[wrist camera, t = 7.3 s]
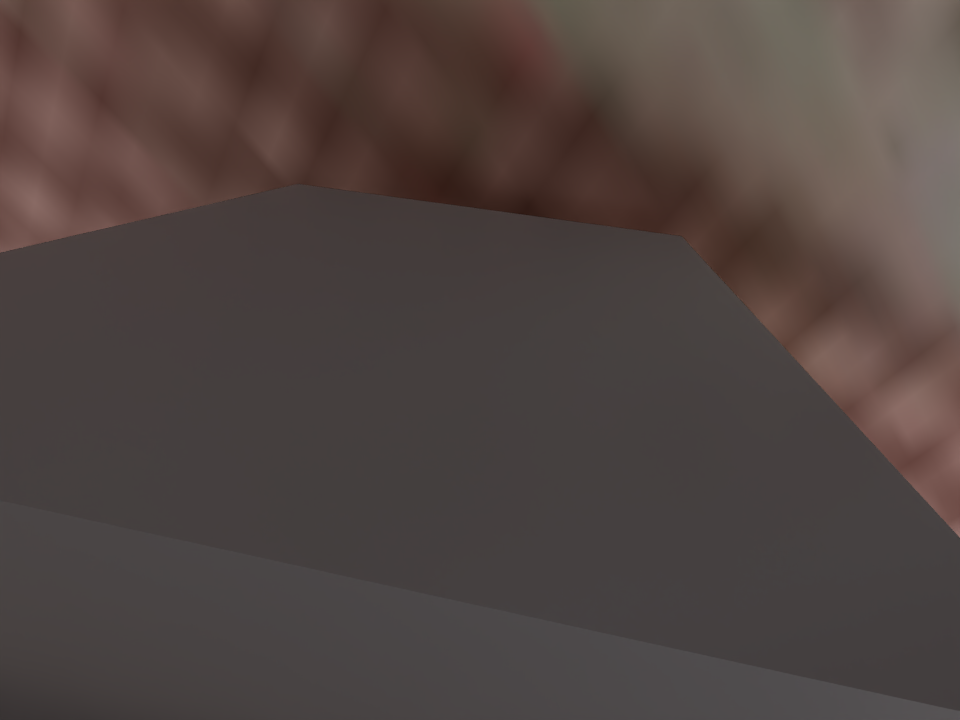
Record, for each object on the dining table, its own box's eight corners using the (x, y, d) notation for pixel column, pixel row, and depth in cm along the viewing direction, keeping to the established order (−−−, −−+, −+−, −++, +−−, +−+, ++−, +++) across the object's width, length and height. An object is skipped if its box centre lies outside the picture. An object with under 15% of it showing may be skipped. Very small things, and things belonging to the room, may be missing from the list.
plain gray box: (298, 183, 10) (-548, 379, 3) (681, 236, 10) (1156, 754, 2) (316, 541, 15) (27, 1015, 7) (580, 597, 14) (589, 1204, 6)
